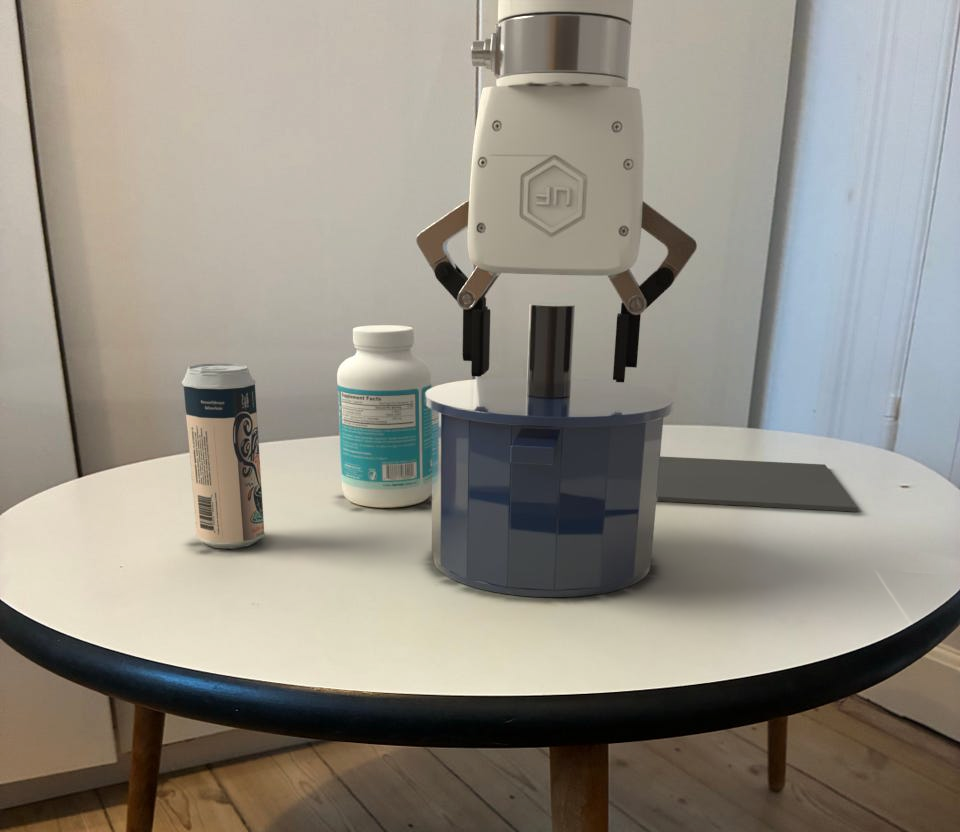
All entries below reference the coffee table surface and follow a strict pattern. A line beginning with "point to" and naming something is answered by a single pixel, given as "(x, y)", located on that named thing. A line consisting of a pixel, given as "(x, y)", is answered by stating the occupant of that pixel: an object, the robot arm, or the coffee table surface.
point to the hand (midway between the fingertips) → (549, 375)
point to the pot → (544, 505)
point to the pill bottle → (385, 420)
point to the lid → (549, 386)
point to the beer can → (224, 454)
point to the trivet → (751, 484)
